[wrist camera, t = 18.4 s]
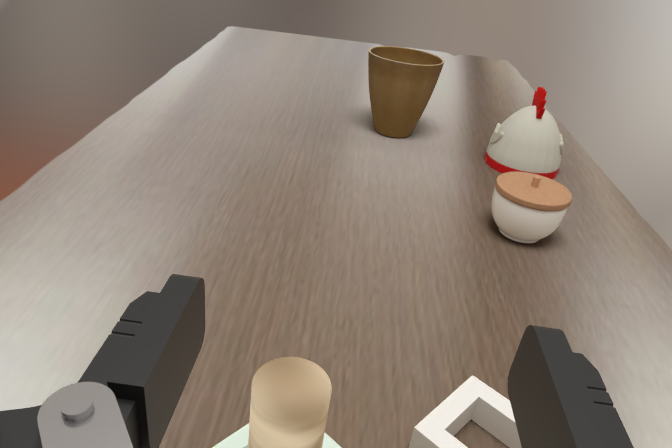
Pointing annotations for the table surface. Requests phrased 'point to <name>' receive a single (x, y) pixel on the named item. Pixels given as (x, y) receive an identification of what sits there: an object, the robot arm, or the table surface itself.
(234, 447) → the tray
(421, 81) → the plant pot
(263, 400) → the dowel
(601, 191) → the table surface
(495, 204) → the lidded jar
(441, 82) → the table surface
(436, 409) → the holder block
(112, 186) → the table surface
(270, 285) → the table surface
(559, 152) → the chicken shaped dome
